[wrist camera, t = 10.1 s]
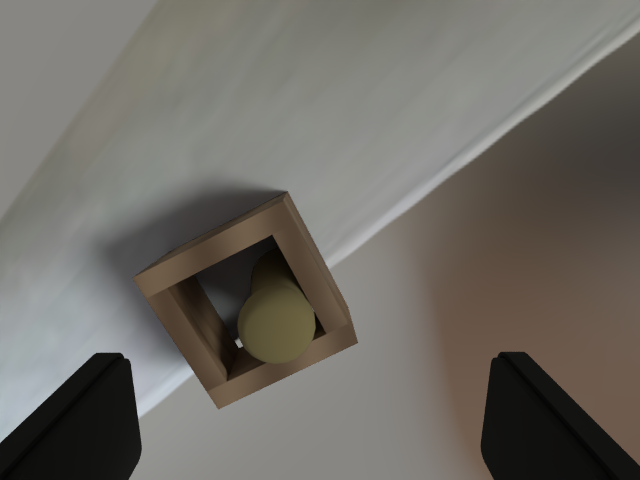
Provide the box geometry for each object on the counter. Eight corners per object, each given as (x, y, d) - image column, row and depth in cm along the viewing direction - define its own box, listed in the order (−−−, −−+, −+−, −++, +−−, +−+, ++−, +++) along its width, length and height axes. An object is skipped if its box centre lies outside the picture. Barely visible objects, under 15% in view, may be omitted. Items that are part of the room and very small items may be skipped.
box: (287, 191, 33) (282, 200, 26) (347, 306, 35) (357, 343, 28) (167, 252, 34) (132, 277, 27) (234, 361, 36) (218, 409, 29)
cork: (324, 302, 35) (332, 366, 24) (261, 317, 35) (242, 389, 25) (308, 240, 34) (309, 280, 23) (243, 257, 34) (213, 304, 23)
